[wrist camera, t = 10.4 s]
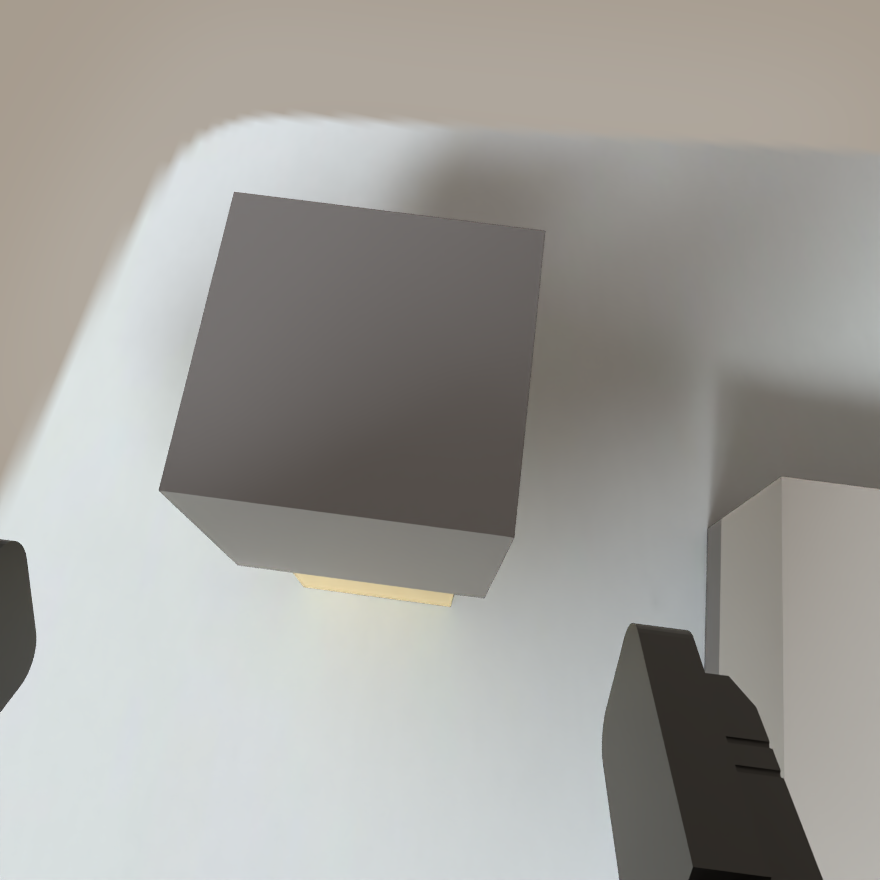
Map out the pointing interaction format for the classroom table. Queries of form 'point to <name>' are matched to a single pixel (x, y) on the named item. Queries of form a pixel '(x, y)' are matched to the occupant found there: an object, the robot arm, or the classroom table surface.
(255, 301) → the plug
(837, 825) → the socket
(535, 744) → the classroom table surface
